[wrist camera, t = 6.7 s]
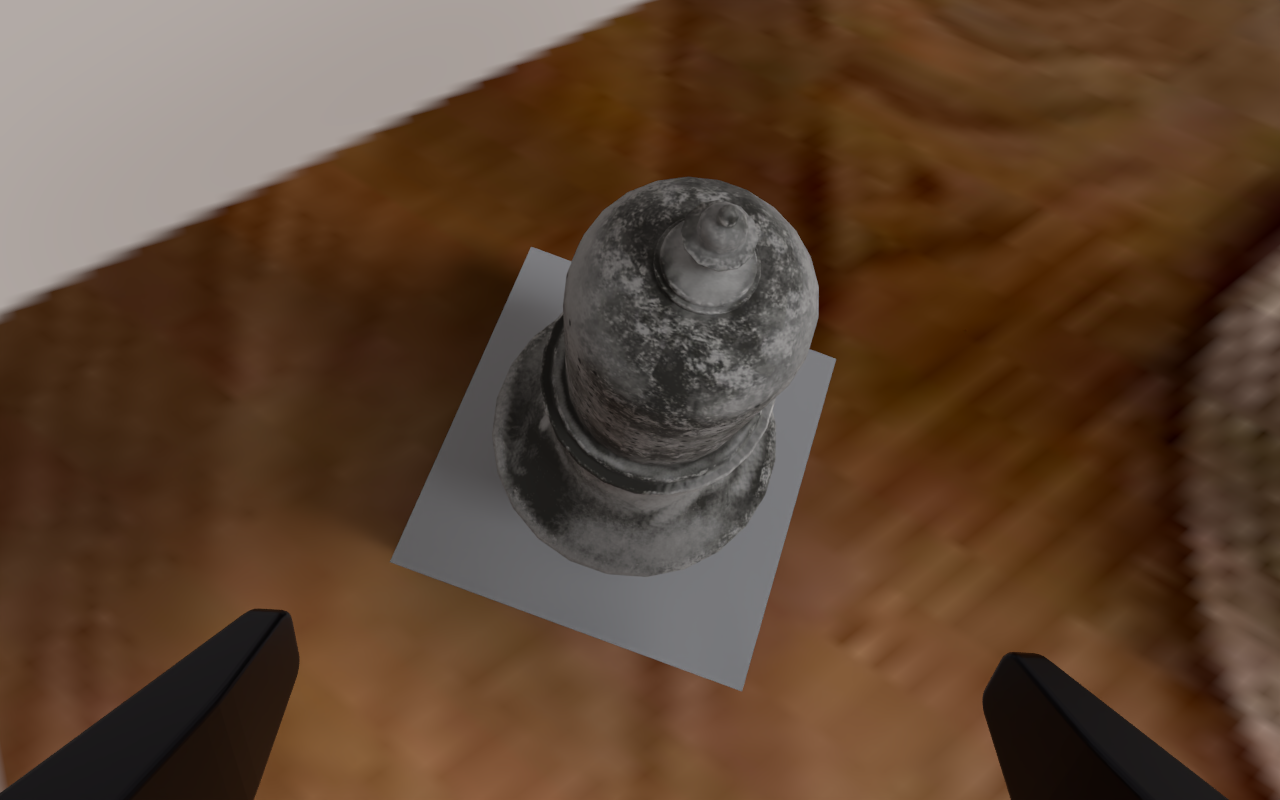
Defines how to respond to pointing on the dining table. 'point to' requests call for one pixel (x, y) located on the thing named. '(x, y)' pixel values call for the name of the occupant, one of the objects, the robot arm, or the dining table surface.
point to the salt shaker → (658, 379)
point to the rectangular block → (569, 592)
